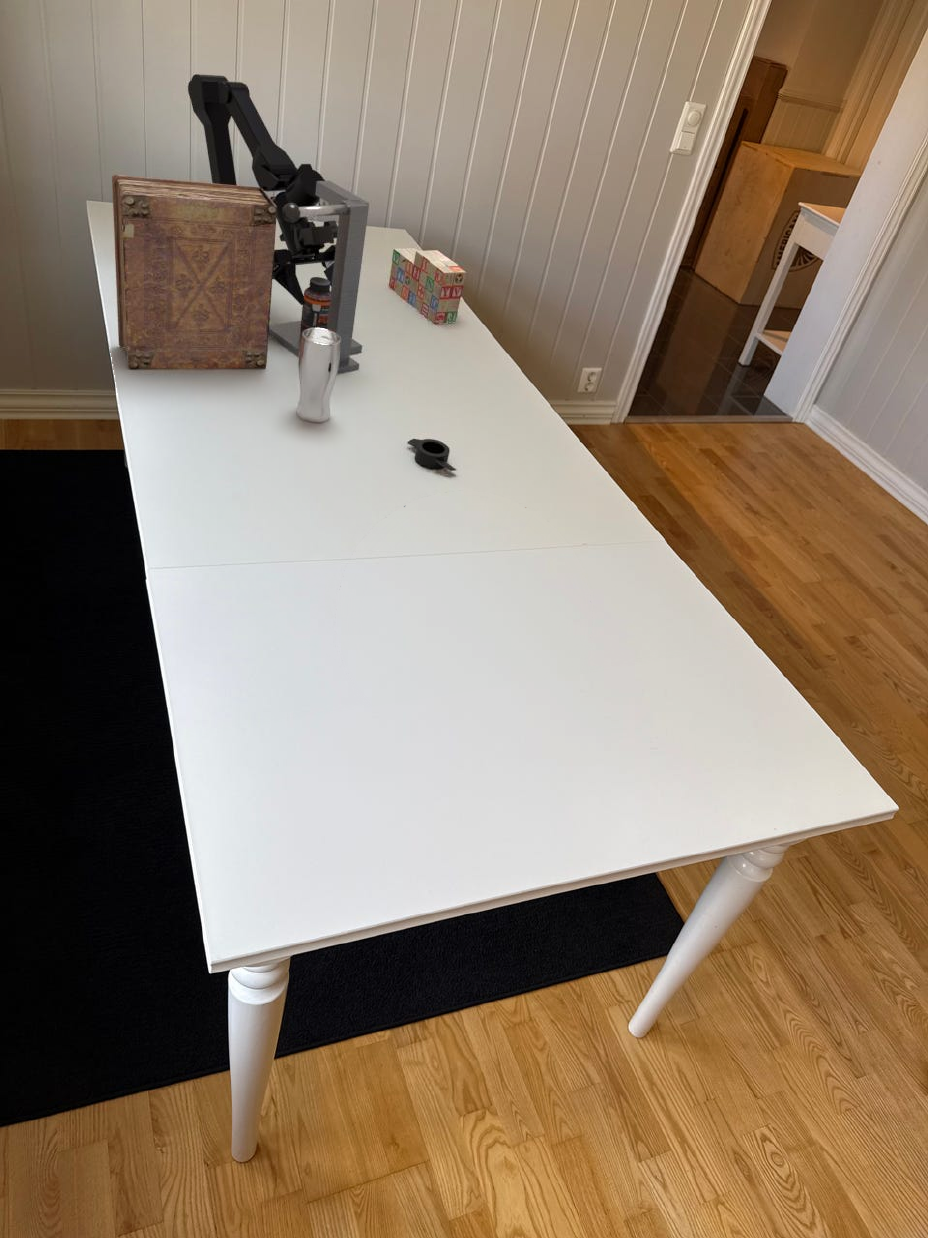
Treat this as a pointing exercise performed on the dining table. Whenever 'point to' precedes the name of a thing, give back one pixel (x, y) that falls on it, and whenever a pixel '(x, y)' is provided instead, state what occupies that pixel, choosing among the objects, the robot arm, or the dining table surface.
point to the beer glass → (317, 373)
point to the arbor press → (334, 269)
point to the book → (193, 273)
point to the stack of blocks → (428, 283)
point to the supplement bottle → (316, 304)
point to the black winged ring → (431, 454)
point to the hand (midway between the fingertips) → (322, 301)
